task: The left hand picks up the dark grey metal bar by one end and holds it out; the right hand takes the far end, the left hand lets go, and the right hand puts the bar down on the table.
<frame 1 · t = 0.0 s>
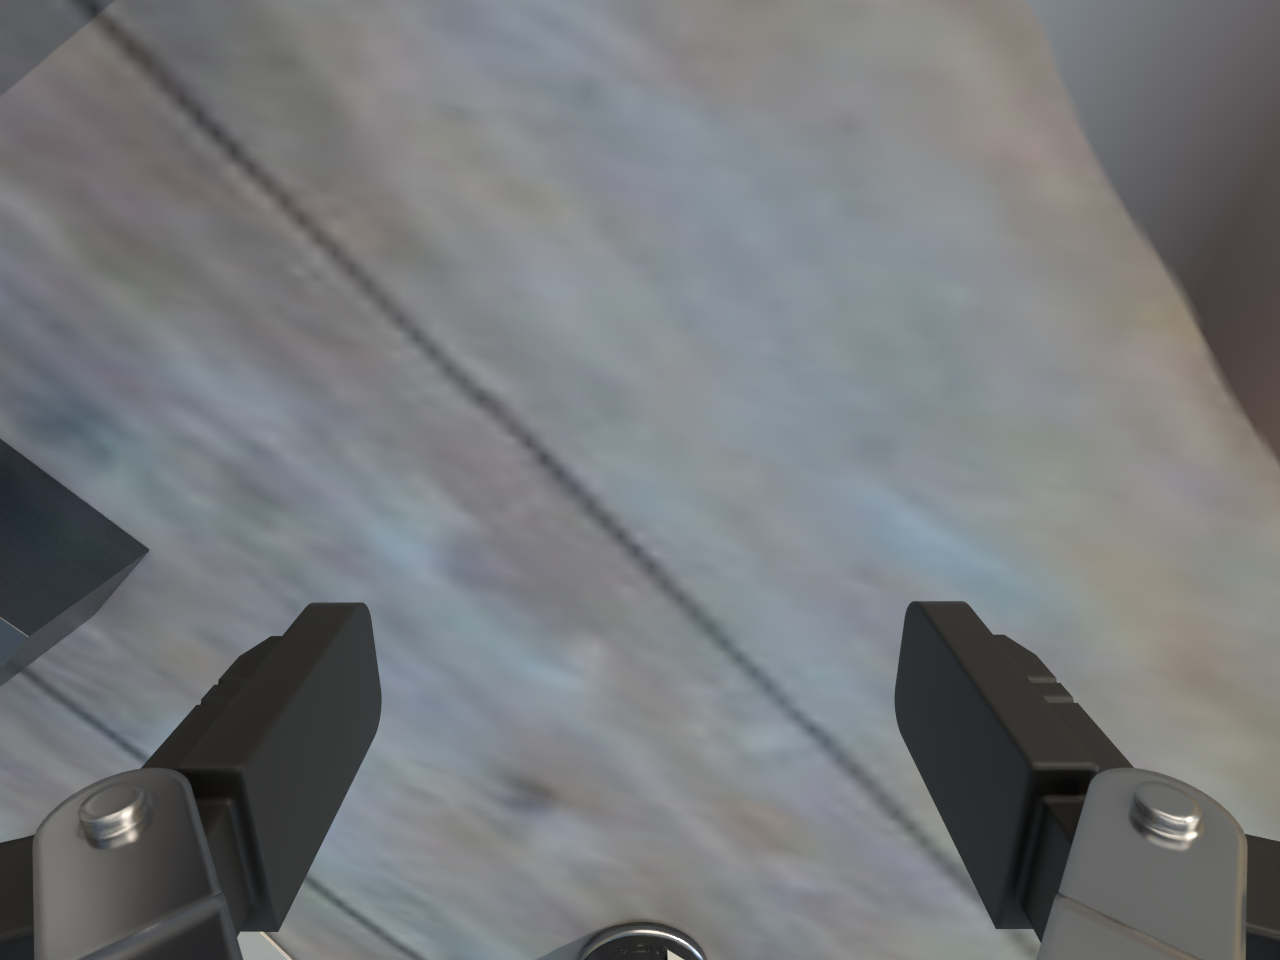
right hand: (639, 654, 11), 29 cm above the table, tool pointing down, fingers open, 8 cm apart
invitation card: (148, 937, 53), on the table
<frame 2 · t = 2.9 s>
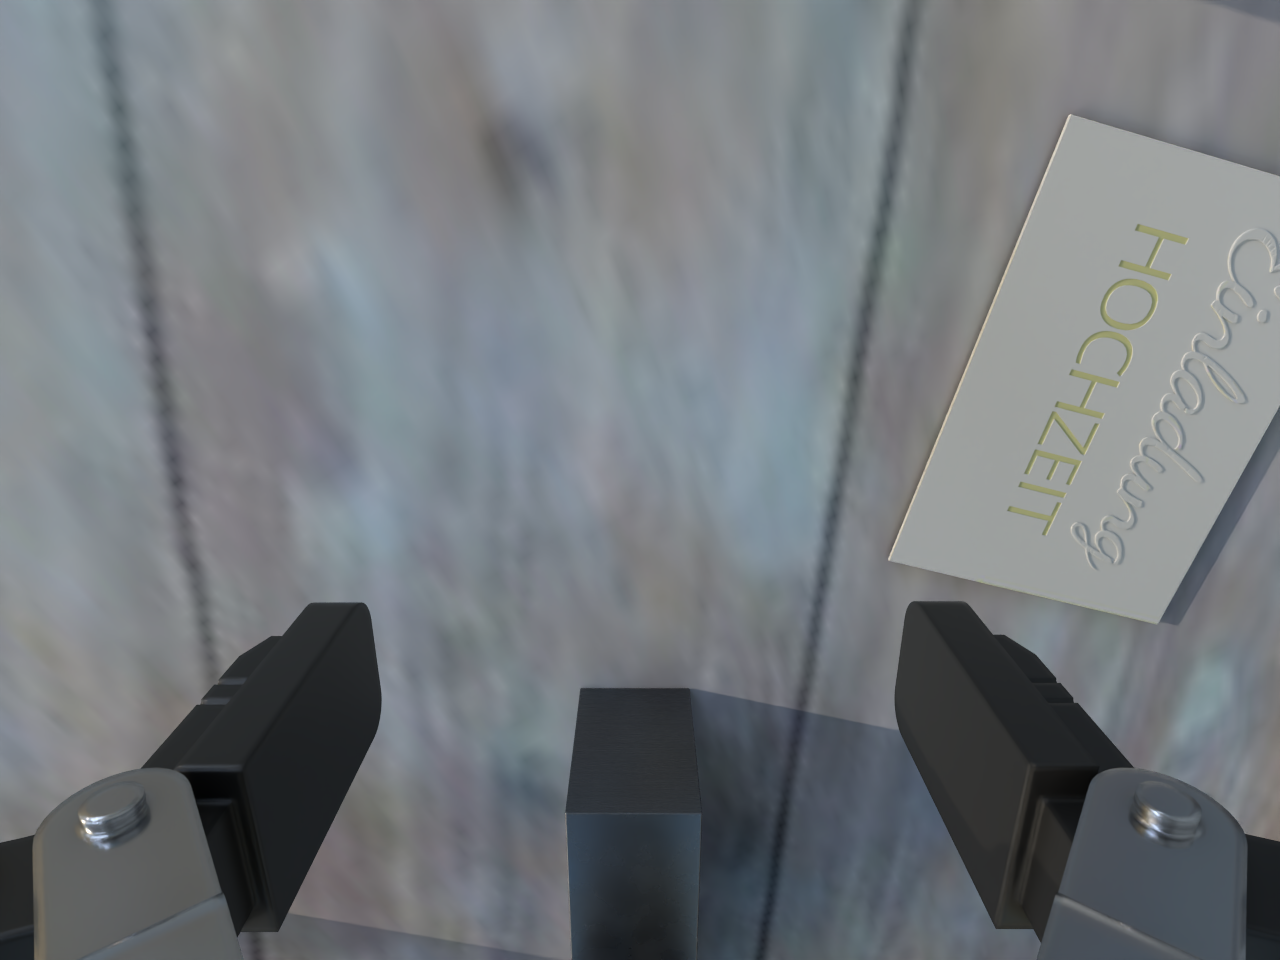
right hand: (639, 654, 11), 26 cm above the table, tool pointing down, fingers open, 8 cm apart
invitation card: (1114, 397, 36), on the table
bar: (635, 855, 46), on the table, touching left hand
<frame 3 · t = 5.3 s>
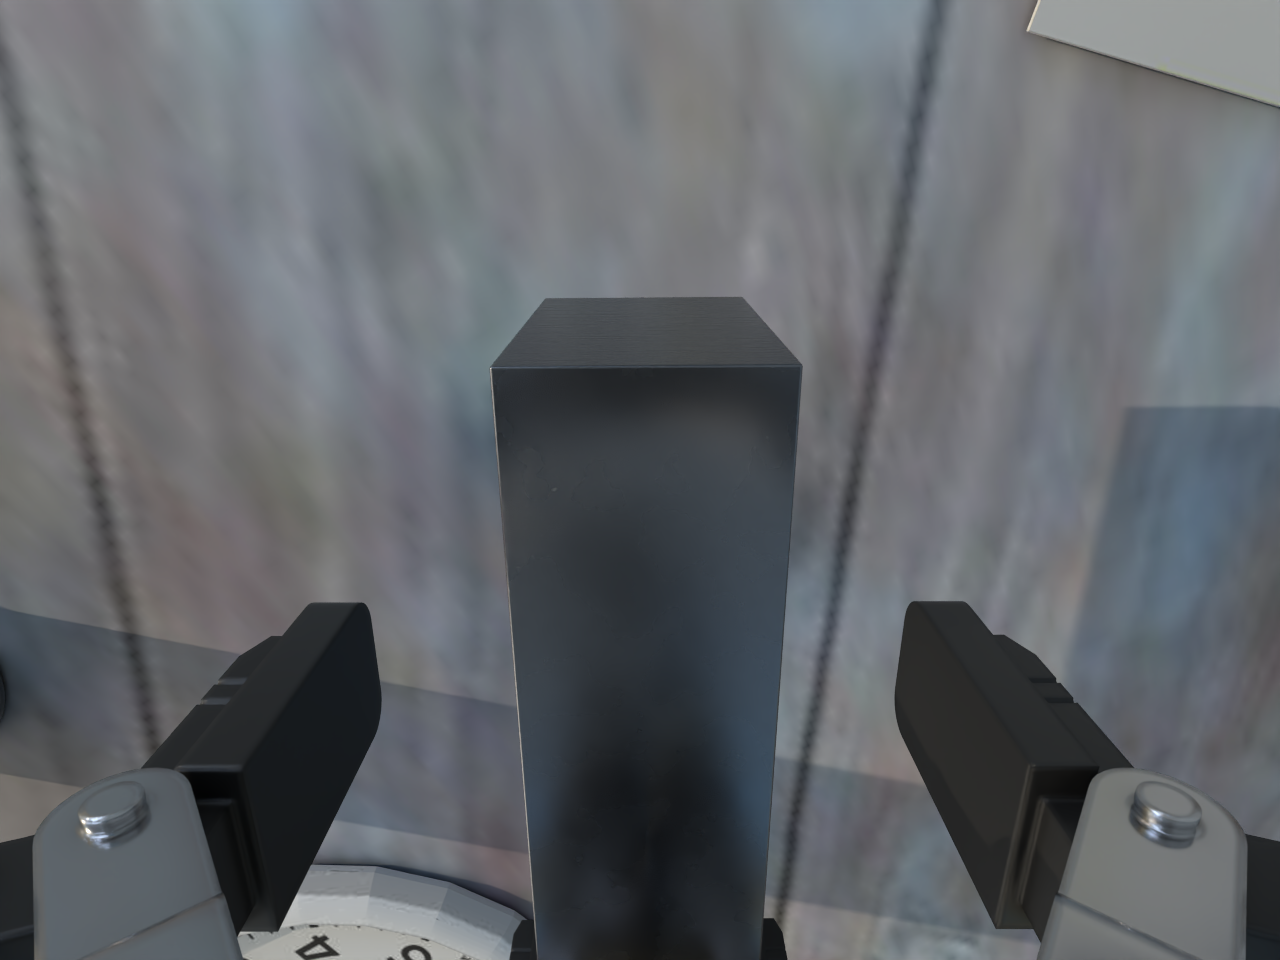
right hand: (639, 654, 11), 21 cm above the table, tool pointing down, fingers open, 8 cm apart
bar: (645, 636, 27), point 7 cm above the table, touching left hand
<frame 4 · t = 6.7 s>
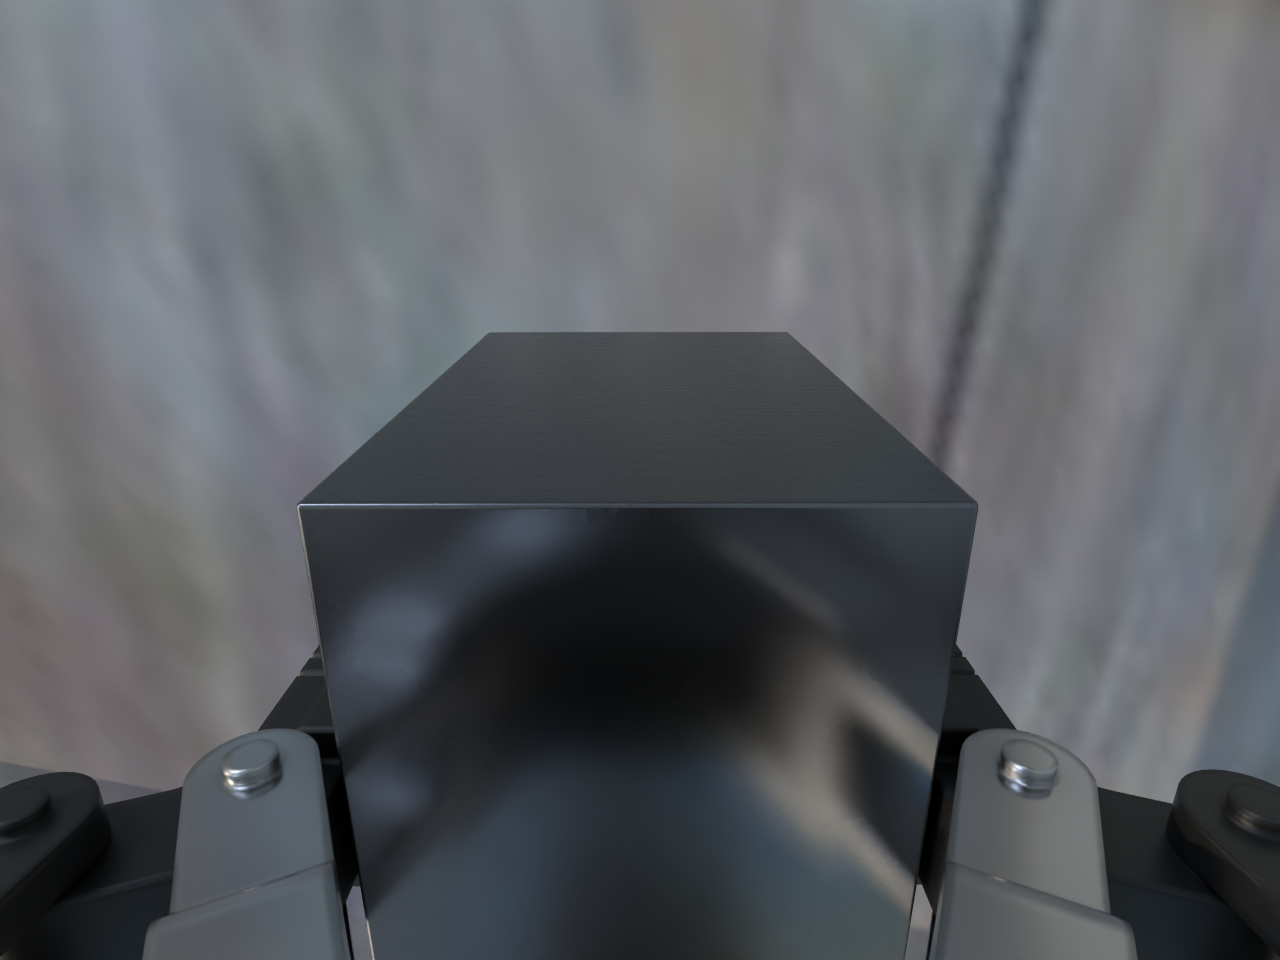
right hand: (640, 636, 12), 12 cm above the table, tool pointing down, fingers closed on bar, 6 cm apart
bar: (639, 806, 19), point 7 cm above the table, touching right hand, left hand
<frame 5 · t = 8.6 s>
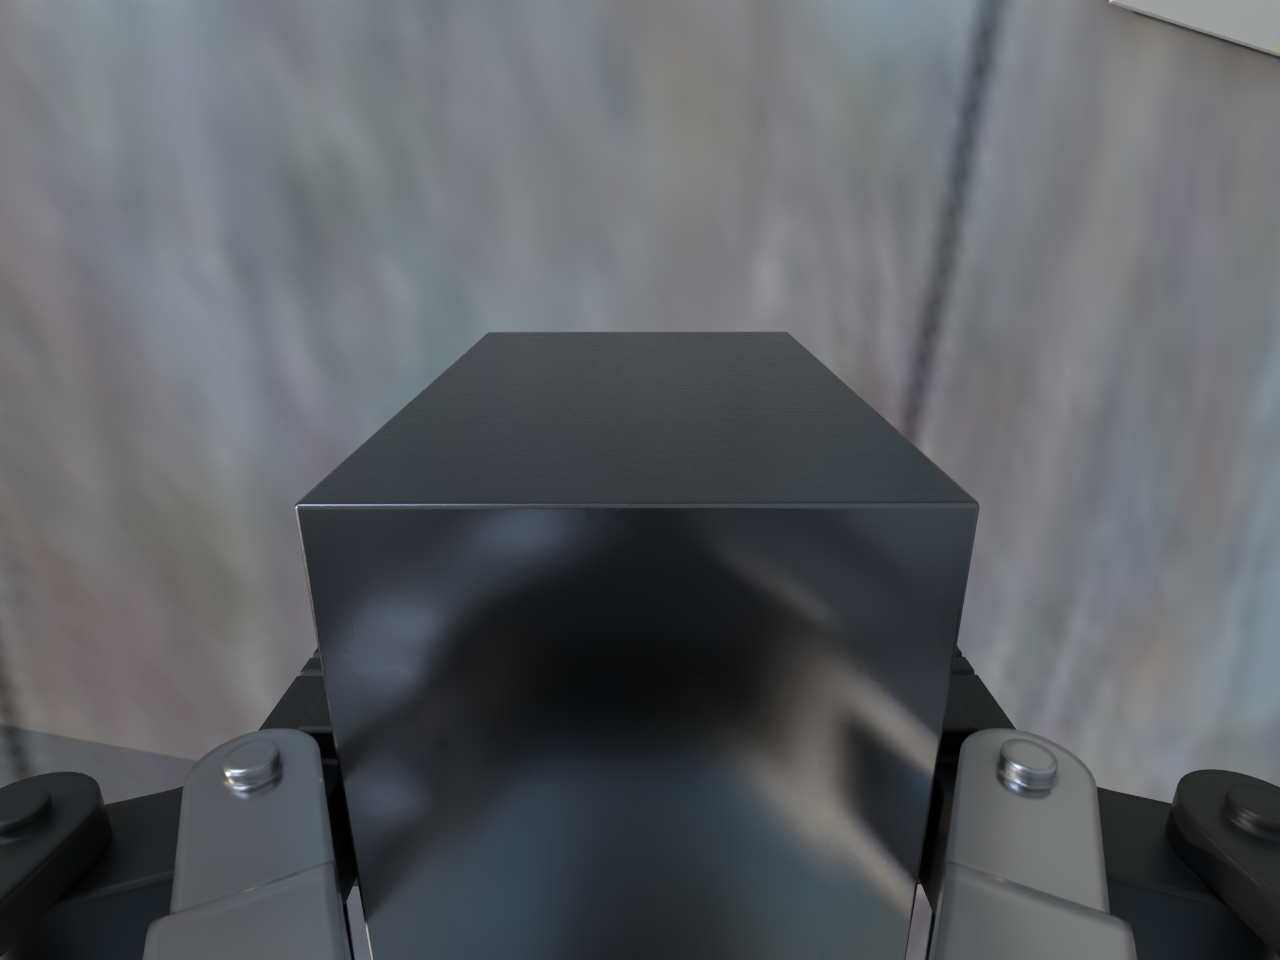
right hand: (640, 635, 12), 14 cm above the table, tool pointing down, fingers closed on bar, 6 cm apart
bar: (638, 807, 19), point 9 cm above the table, touching right hand
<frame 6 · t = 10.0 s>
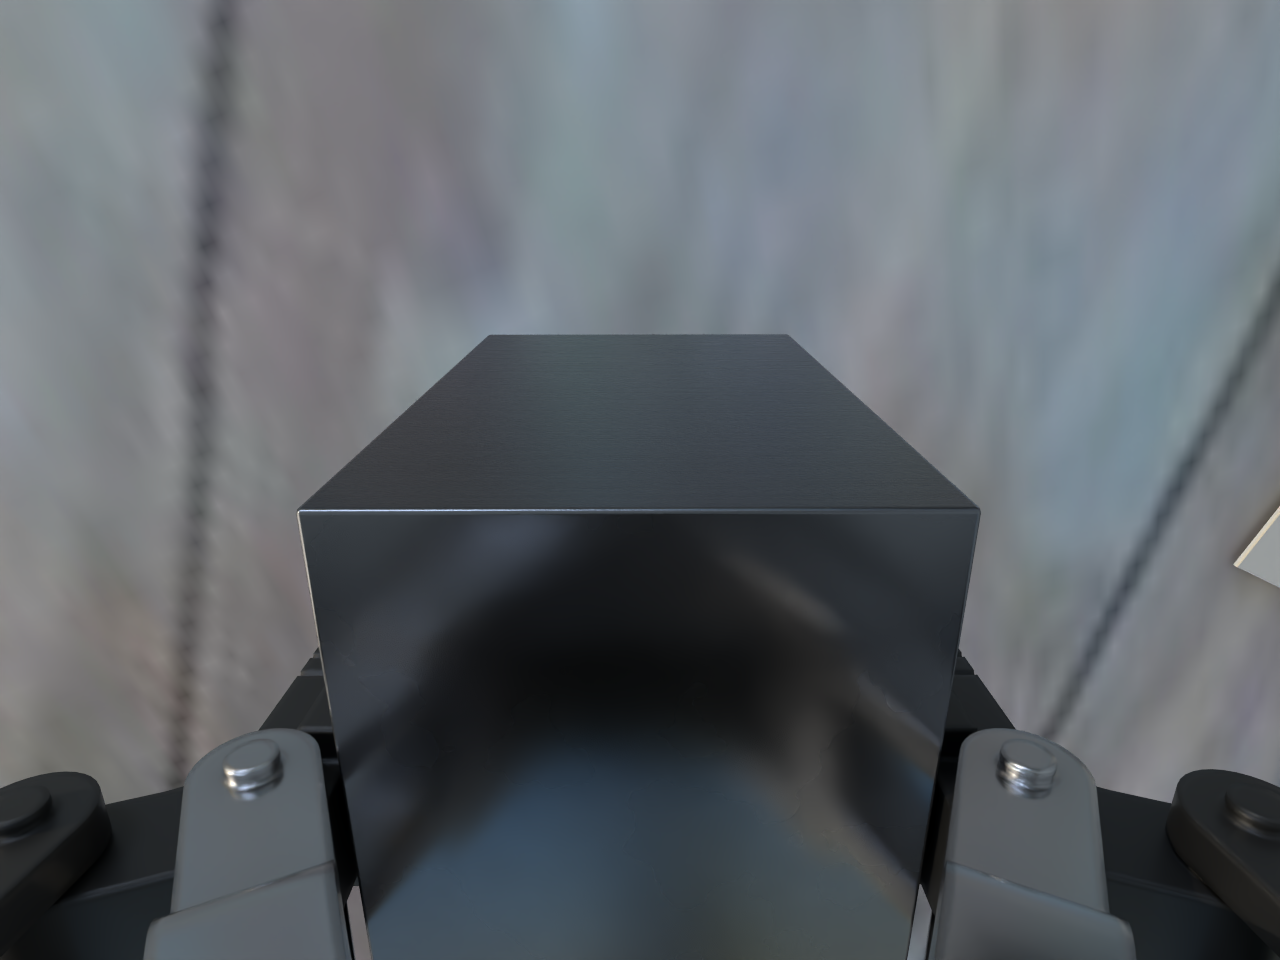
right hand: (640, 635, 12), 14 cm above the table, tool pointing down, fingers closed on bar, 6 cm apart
bar: (639, 809, 19), point 9 cm above the table, touching right hand
when the right hand's fingers open (6 cm above the table, at t = 13.5 s): bar drops 1 cm, on the table.
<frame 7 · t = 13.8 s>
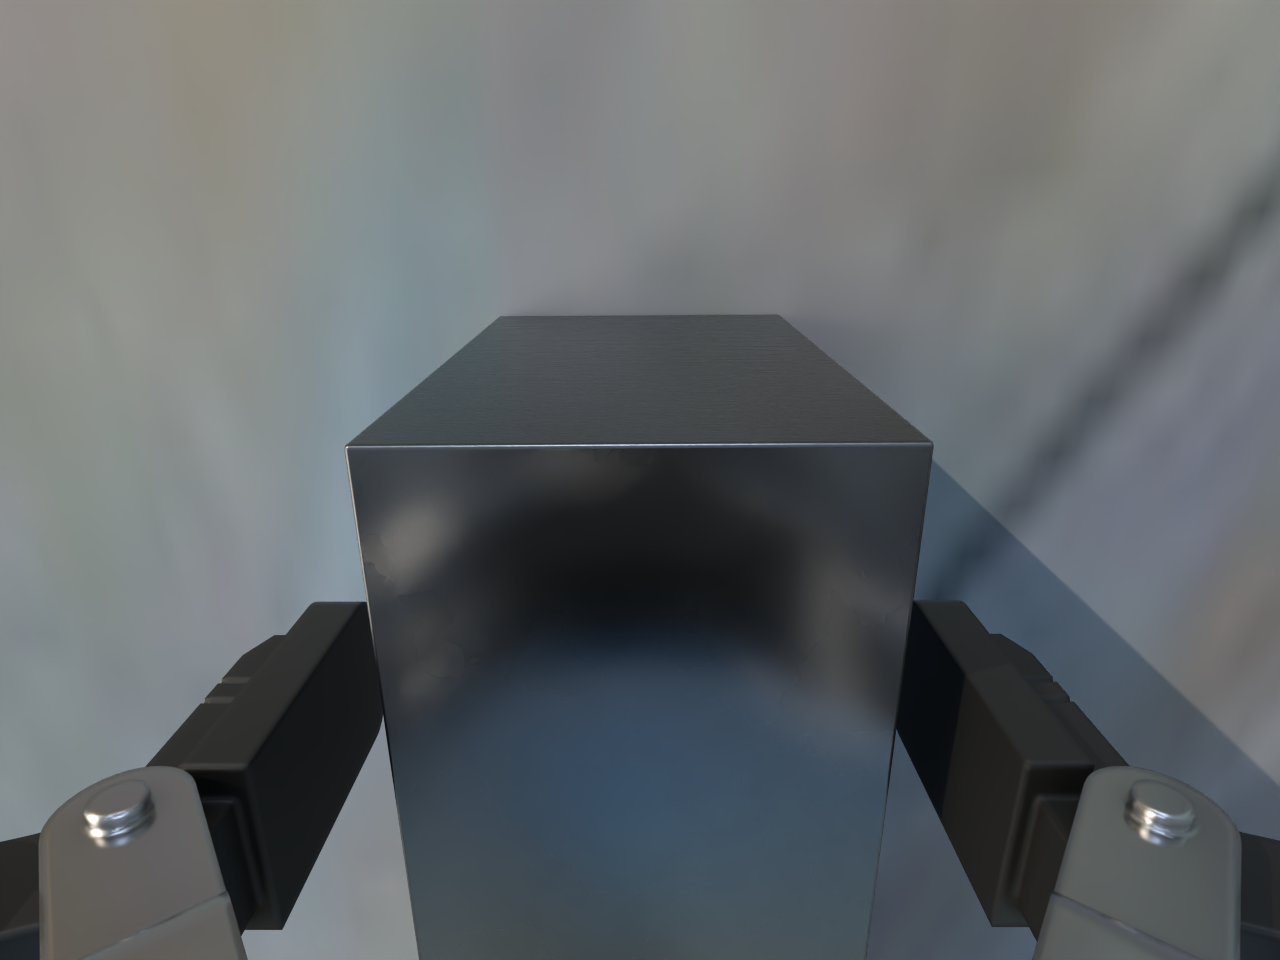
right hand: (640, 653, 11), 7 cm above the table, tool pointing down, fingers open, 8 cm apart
bar: (642, 769, 20), on the table
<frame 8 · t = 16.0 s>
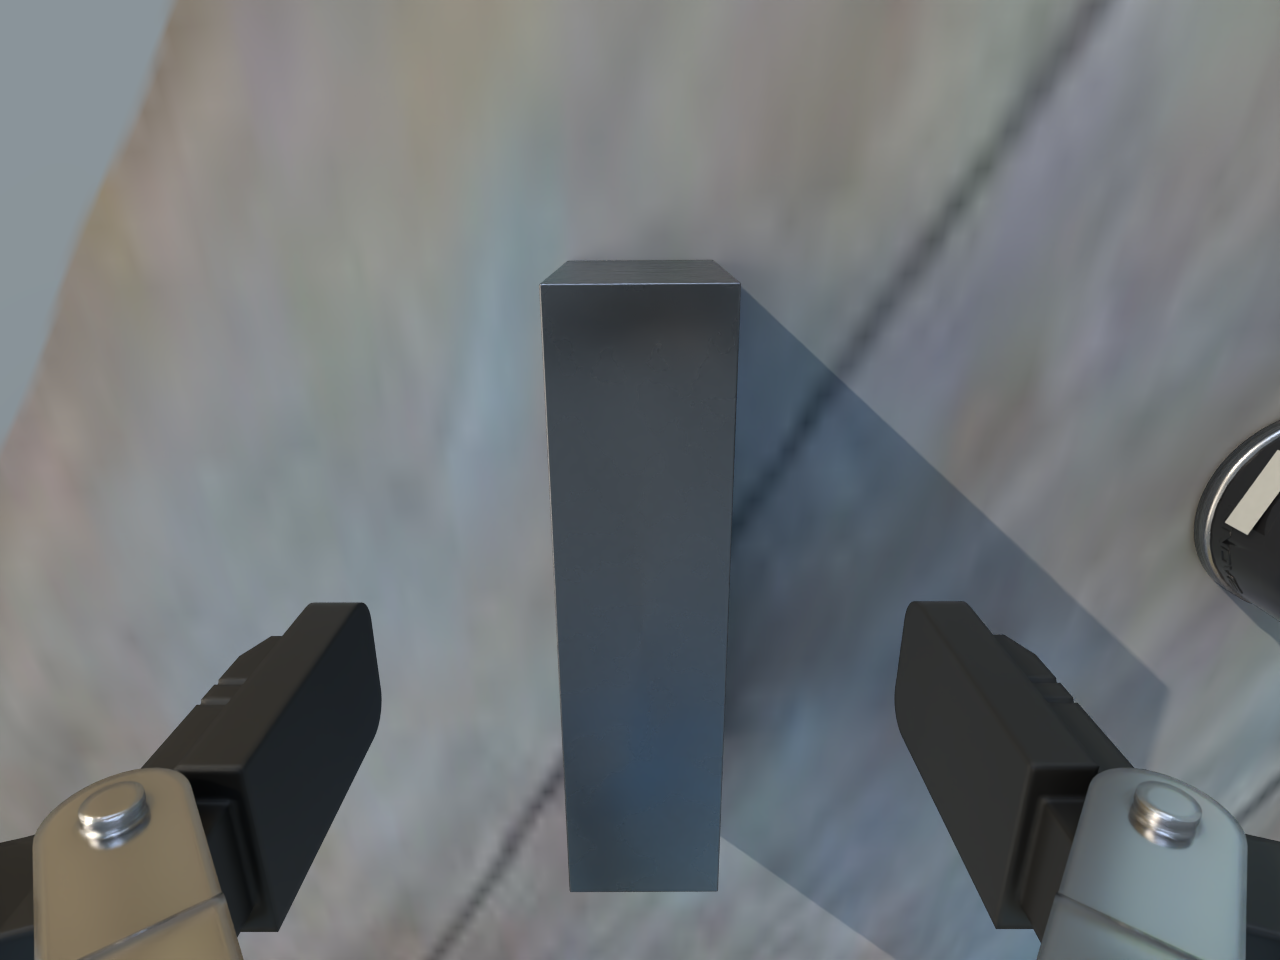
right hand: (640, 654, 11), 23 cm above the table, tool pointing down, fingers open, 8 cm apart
bar: (641, 529, 35), on the table
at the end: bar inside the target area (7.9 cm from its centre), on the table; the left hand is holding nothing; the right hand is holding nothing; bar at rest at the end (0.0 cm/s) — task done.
